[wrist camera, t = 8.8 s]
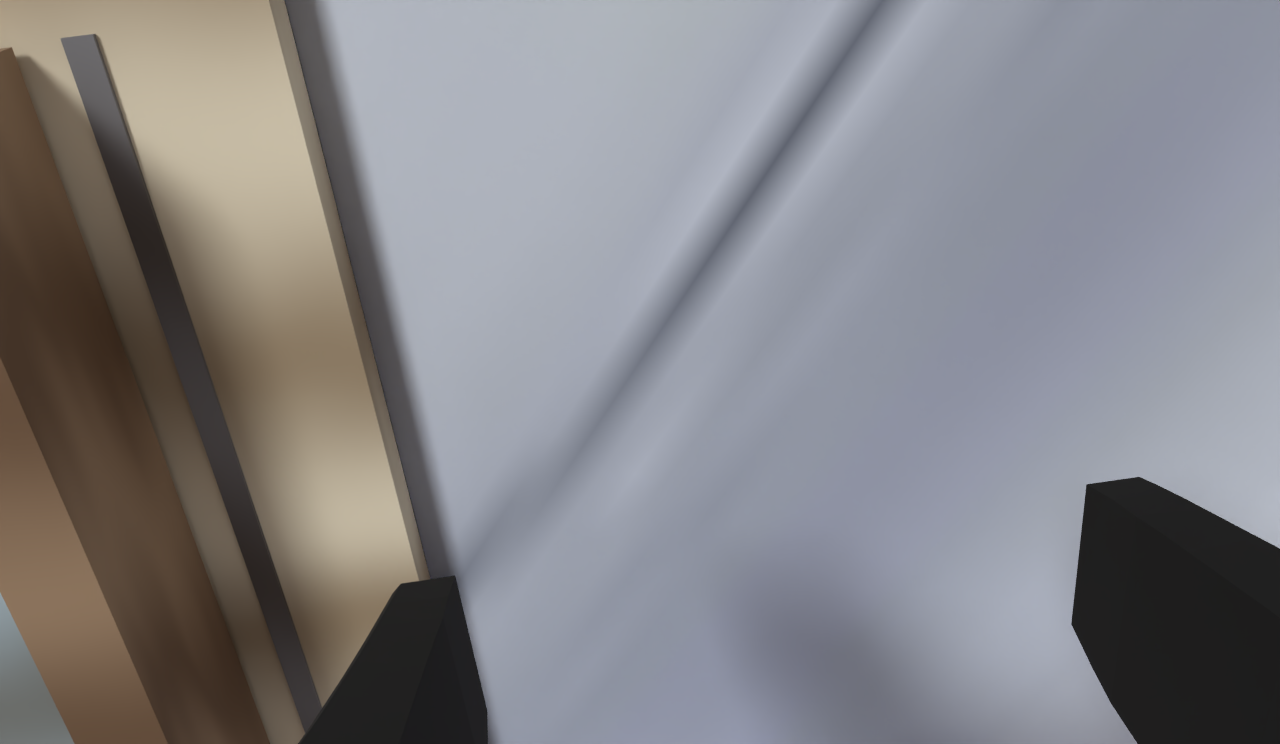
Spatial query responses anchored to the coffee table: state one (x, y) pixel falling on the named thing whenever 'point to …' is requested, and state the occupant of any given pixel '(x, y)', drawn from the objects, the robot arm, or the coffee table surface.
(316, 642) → the birch board
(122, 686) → the tan cardboard box
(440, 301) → the coffee table surface
